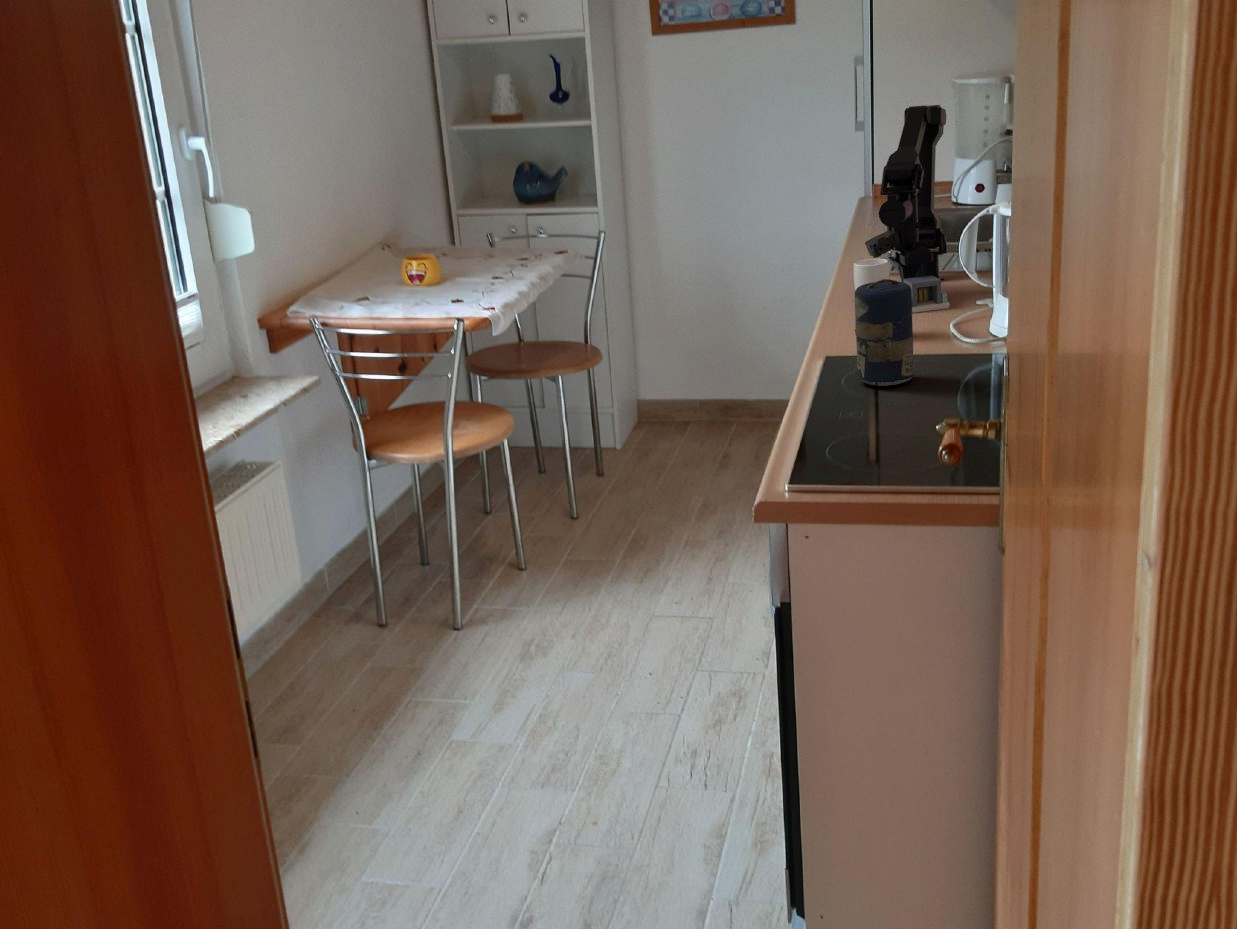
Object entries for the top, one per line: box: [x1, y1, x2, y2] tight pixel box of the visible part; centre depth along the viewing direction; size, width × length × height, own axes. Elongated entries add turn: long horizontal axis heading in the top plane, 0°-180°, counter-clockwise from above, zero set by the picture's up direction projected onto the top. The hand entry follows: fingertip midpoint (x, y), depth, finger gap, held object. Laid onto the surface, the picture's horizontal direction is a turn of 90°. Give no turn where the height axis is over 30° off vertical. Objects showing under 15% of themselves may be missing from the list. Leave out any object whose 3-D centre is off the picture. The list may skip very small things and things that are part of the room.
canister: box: [854, 278, 915, 383], centre depth 204 cm, size 10×10×18 cm
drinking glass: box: [853, 258, 891, 292], centre depth 234 cm, size 7×7×15 cm
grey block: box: [904, 275, 942, 307], centre depth 253 cm, size 6×6×5 cm
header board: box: [912, 287, 950, 314], centre depth 260 cm, size 18×11×4 cm, turn 5°
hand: (906, 289), depth 264 cm, fingers closed
